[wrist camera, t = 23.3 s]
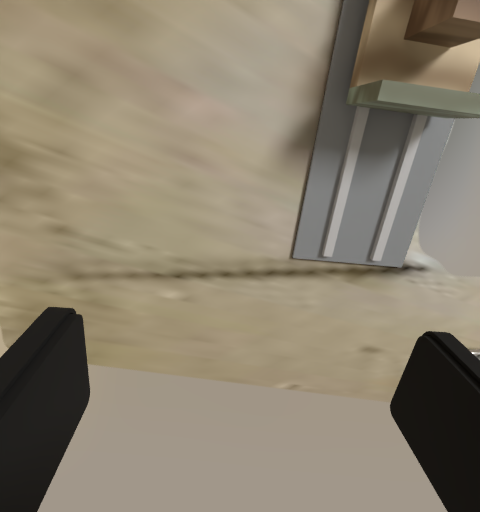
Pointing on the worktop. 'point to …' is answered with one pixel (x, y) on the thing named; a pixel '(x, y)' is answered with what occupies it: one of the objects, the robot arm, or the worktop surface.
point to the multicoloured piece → (411, 68)
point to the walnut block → (444, 22)
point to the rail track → (365, 168)
